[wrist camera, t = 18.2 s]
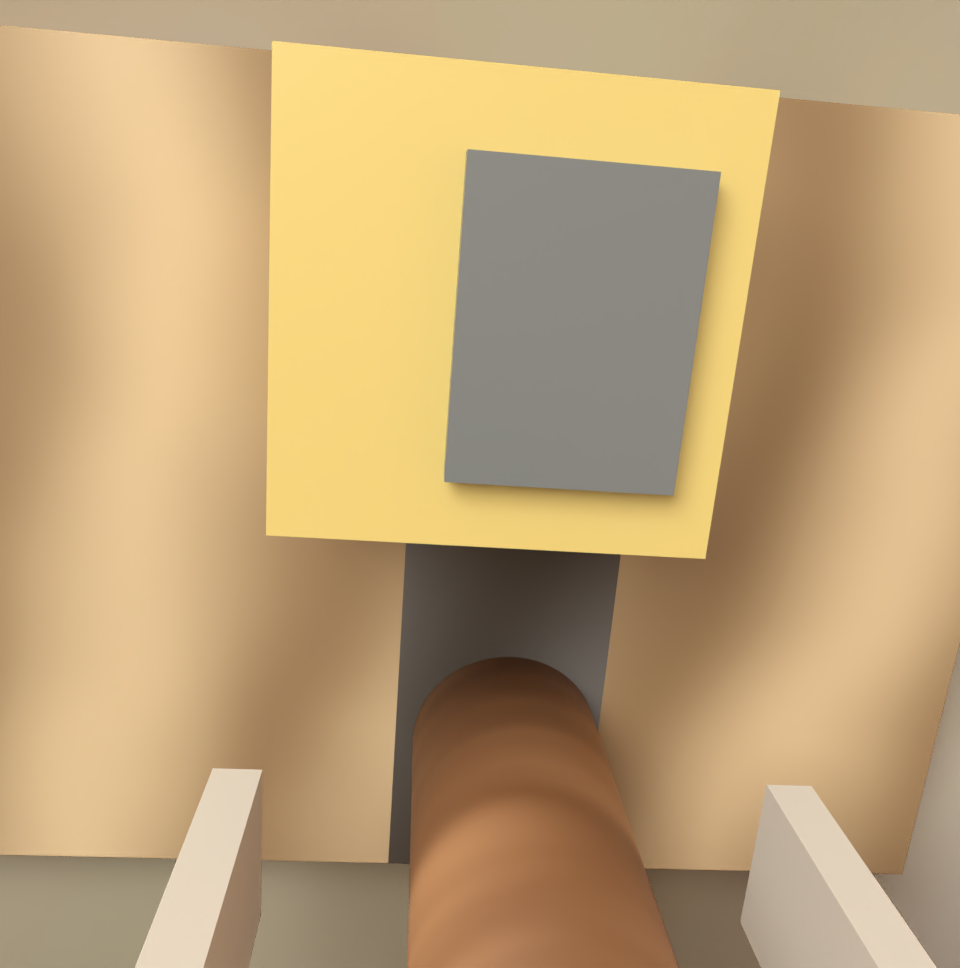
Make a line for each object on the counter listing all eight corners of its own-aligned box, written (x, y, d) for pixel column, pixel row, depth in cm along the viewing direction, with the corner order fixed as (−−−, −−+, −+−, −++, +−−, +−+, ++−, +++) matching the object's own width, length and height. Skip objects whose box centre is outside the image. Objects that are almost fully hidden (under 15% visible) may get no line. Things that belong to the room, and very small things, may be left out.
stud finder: (305, 459, 16) (260, 546, 11) (313, 91, 14) (266, 33, 10) (638, 479, 16) (714, 569, 12) (685, 126, 14) (793, 86, 10)
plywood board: (-334, 797, 18) (-399, 846, 17) (-502, -5, 14) (-607, -32, 13) (868, 828, 20) (902, 874, 19) (1029, 135, 16) (1088, 126, 15)
